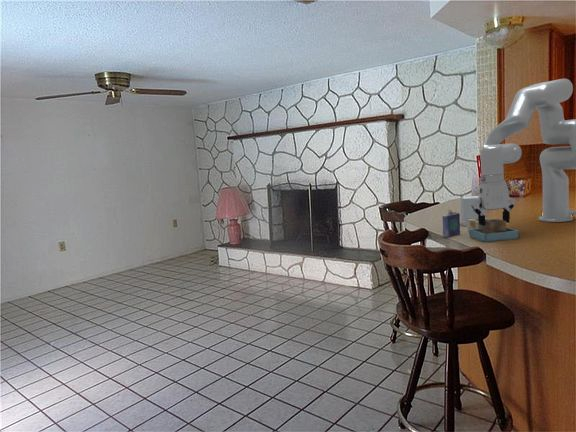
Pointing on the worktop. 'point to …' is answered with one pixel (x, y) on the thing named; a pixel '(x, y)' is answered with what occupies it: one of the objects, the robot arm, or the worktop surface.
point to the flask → (451, 224)
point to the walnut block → (494, 226)
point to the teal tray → (494, 235)
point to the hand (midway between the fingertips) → (494, 223)
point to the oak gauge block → (474, 224)
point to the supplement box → (468, 209)
